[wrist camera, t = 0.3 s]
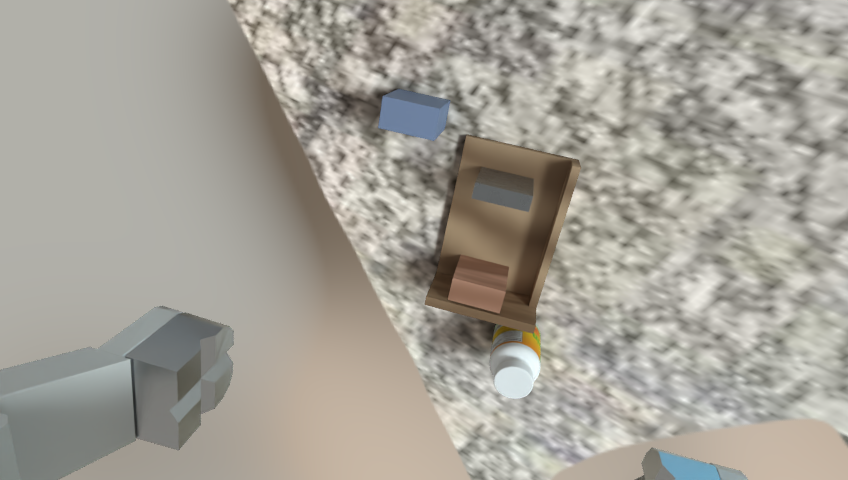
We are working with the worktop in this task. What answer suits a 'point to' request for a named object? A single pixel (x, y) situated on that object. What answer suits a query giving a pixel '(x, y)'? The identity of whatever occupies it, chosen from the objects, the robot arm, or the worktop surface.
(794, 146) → the worktop surface
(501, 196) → the bookend
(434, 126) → the blue block
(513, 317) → the rack
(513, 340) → the supplement bottle
